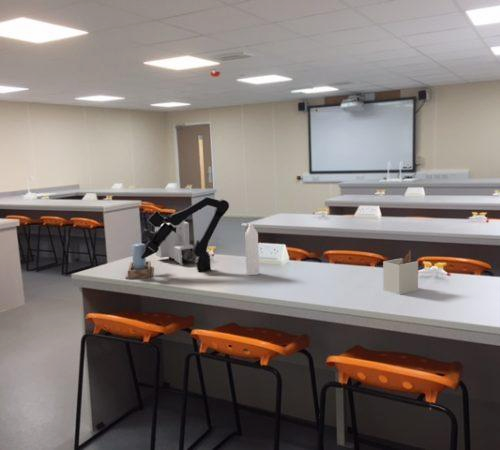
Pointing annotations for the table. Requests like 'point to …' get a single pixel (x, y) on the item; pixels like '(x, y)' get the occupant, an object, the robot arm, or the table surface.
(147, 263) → the wooden divided tray
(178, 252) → the electronic device
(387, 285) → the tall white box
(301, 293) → the table surface
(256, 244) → the water bottle
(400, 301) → the table surface
